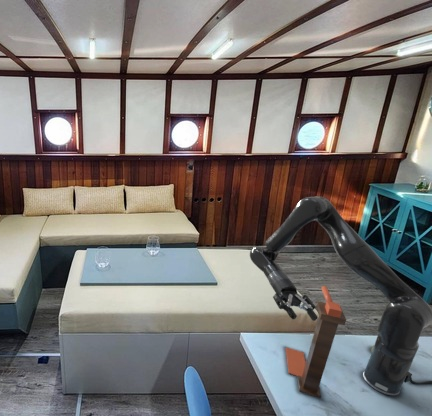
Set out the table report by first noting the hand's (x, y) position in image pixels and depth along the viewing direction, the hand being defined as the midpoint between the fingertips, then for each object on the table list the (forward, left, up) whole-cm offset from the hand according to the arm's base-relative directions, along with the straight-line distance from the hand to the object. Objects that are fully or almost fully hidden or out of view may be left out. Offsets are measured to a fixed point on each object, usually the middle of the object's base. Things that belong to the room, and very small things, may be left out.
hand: (305, 318), depth 105 cm
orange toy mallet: (+6, +9, +15) cm, 18 cm away
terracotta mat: (+3, +3, -17) cm, 17 cm away
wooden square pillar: (+9, +12, -17) cm, 22 cm away
